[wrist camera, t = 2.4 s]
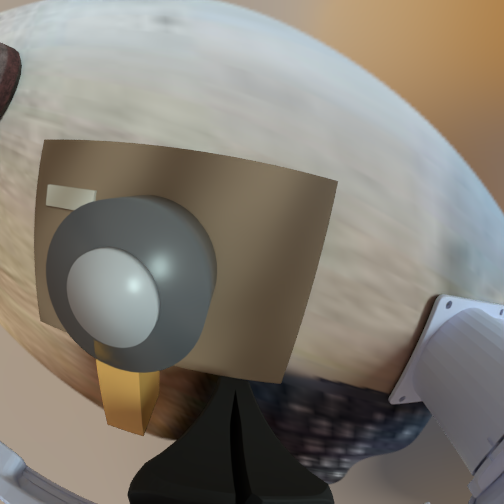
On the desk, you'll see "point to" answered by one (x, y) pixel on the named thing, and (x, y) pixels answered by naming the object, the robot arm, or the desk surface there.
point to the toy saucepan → (132, 294)
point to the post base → (221, 235)
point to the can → (8, 75)
